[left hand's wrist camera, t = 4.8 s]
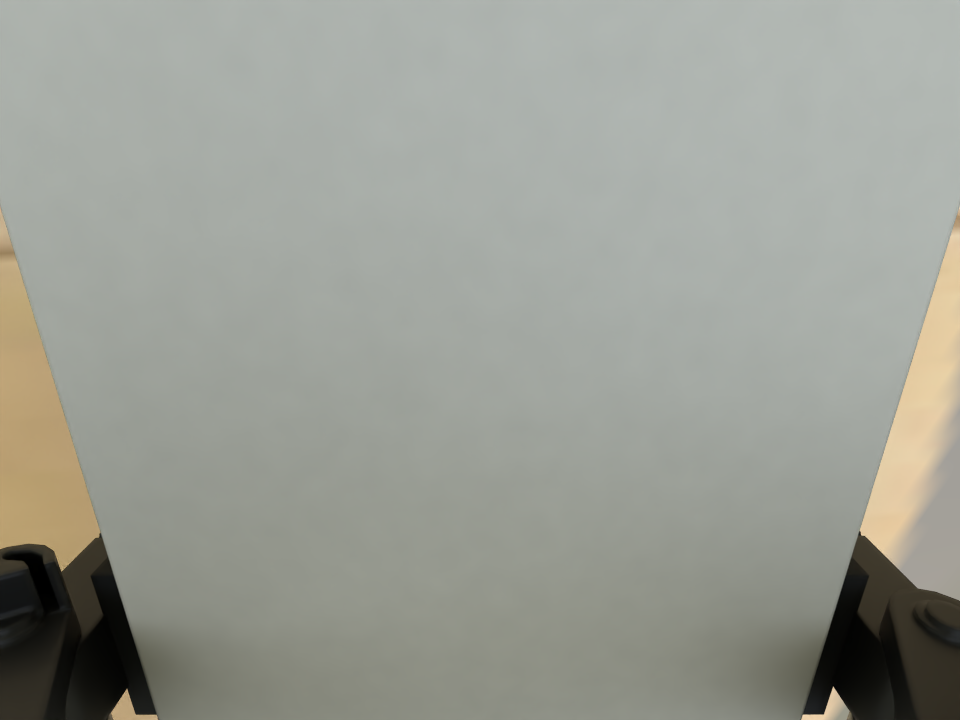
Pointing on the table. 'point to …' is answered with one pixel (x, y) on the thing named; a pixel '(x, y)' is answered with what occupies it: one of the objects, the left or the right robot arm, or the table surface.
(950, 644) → the left robot arm
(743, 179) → the grey long rectangular bar
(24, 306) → the table surface
